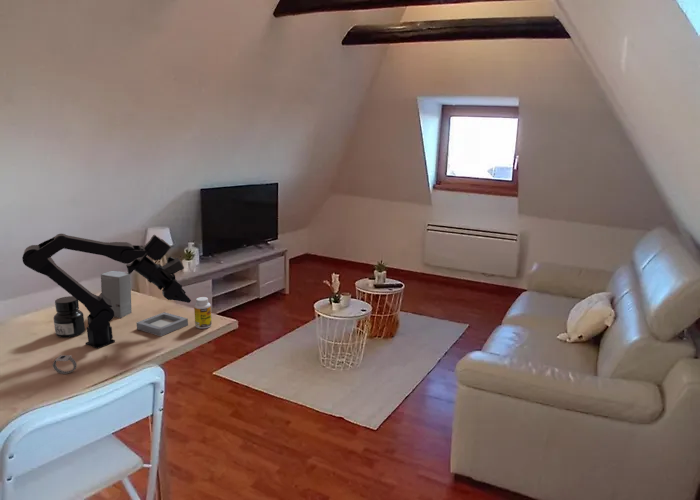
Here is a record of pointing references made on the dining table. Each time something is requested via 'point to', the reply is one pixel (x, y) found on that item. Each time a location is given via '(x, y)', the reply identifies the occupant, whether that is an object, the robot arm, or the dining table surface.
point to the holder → (162, 324)
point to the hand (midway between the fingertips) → (187, 297)
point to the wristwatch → (64, 358)
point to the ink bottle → (68, 317)
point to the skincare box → (117, 291)
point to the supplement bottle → (202, 313)
